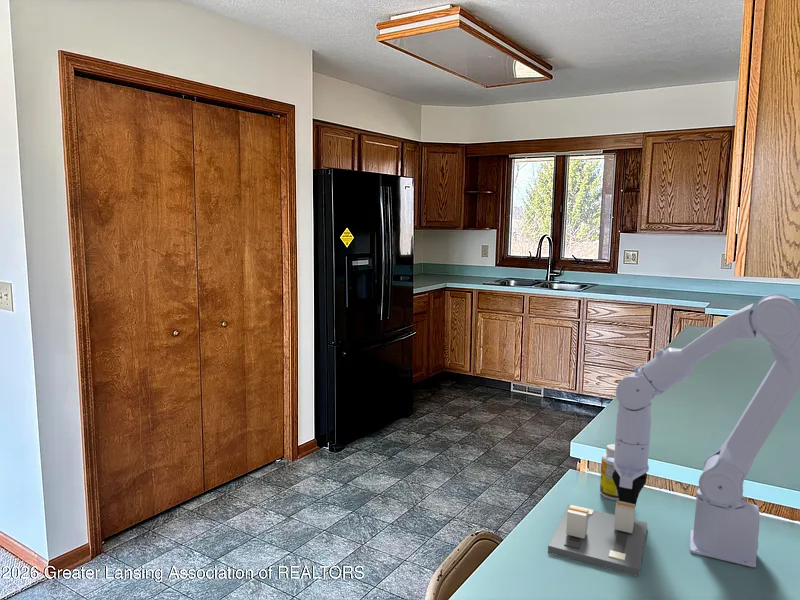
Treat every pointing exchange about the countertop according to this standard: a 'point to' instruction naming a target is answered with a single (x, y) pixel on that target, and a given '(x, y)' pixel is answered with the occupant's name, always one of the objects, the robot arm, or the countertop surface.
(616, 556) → the switch unit
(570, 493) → the countertop surface
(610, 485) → the supplement bottle
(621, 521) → the toggle
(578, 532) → the toggle
